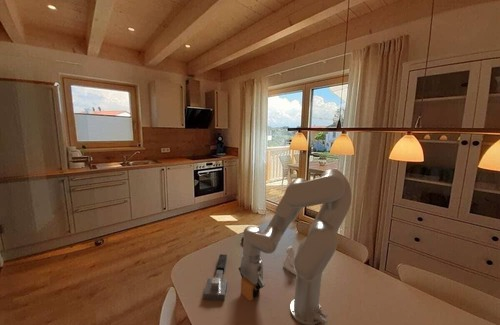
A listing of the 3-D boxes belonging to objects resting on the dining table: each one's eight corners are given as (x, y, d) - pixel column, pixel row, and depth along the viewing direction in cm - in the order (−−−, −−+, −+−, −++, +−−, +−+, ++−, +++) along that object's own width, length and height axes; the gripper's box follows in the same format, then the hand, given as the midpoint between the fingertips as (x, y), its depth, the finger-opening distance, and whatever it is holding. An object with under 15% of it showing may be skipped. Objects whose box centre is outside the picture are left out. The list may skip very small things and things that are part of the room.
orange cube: (259, 293, 95) (260, 279, 94) (250, 301, 91) (250, 286, 90) (250, 286, 99) (250, 273, 98) (240, 293, 95) (241, 279, 94)
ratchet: (224, 300, 91) (224, 288, 90) (203, 299, 91) (203, 287, 90) (231, 258, 119) (231, 249, 118) (215, 258, 120) (215, 248, 118)
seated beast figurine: (297, 276, 107) (298, 254, 105) (280, 271, 110) (281, 250, 108) (300, 265, 116) (301, 245, 114) (284, 260, 119) (286, 241, 117)
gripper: (272, 260, 88) (270, 298, 92) (244, 243, 101) (243, 277, 104) (260, 268, 83) (258, 308, 86) (232, 249, 95) (231, 285, 99)
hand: (250, 291), depth 95 cm, fingers open, 6 cm apart
